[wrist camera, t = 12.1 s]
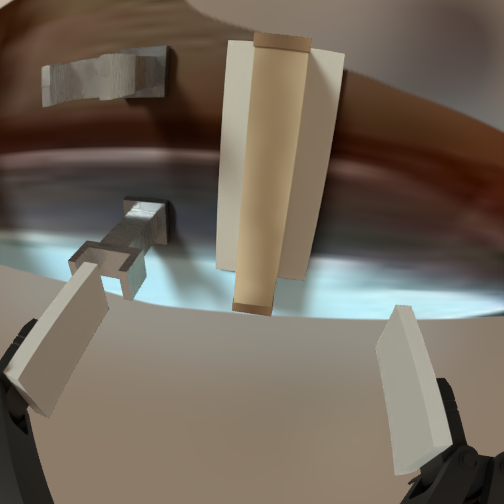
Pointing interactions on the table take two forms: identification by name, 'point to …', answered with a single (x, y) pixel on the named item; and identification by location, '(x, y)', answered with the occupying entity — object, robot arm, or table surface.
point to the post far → (128, 243)
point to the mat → (306, 160)
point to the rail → (268, 165)
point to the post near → (109, 76)
